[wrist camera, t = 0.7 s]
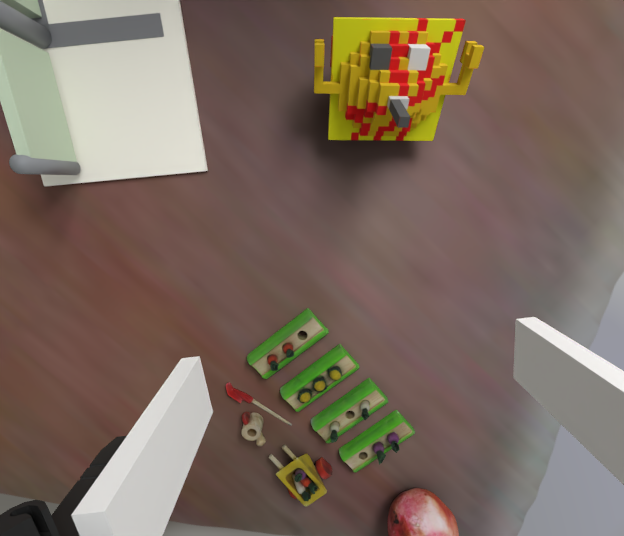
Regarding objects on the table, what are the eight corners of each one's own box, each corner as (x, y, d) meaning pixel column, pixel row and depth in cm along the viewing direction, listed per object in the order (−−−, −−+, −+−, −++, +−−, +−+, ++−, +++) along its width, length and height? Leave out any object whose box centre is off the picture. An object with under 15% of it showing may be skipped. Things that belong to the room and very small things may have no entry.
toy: (457, 8, 31) (535, 42, 20) (430, 115, 38) (477, 183, 27) (314, 6, 31) (316, 39, 20) (312, 114, 38) (314, 182, 27)
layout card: (-30, -81, 30) (-35, -85, 30) (162, -101, 30) (160, -105, 30) (46, 186, 37) (43, 186, 36) (207, 170, 36) (206, 170, 36)
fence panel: (34, 54, 32) (-35, 22, 26) (50, 52, 32) (-15, 19, 26) (67, 176, 35) (12, 174, 29) (82, 174, 35) (30, 173, 29)
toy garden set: (413, 425, 46) (425, 451, 41) (307, 495, 49) (307, 527, 44) (308, 305, 41) (308, 320, 37) (197, 391, 44) (185, 415, 40)
